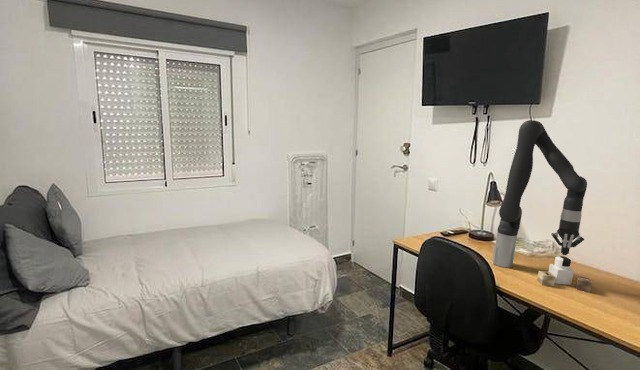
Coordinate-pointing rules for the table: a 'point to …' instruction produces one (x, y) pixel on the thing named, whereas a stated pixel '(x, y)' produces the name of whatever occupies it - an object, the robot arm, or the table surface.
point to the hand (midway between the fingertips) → (564, 254)
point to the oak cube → (546, 278)
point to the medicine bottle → (562, 270)
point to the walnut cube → (584, 284)
